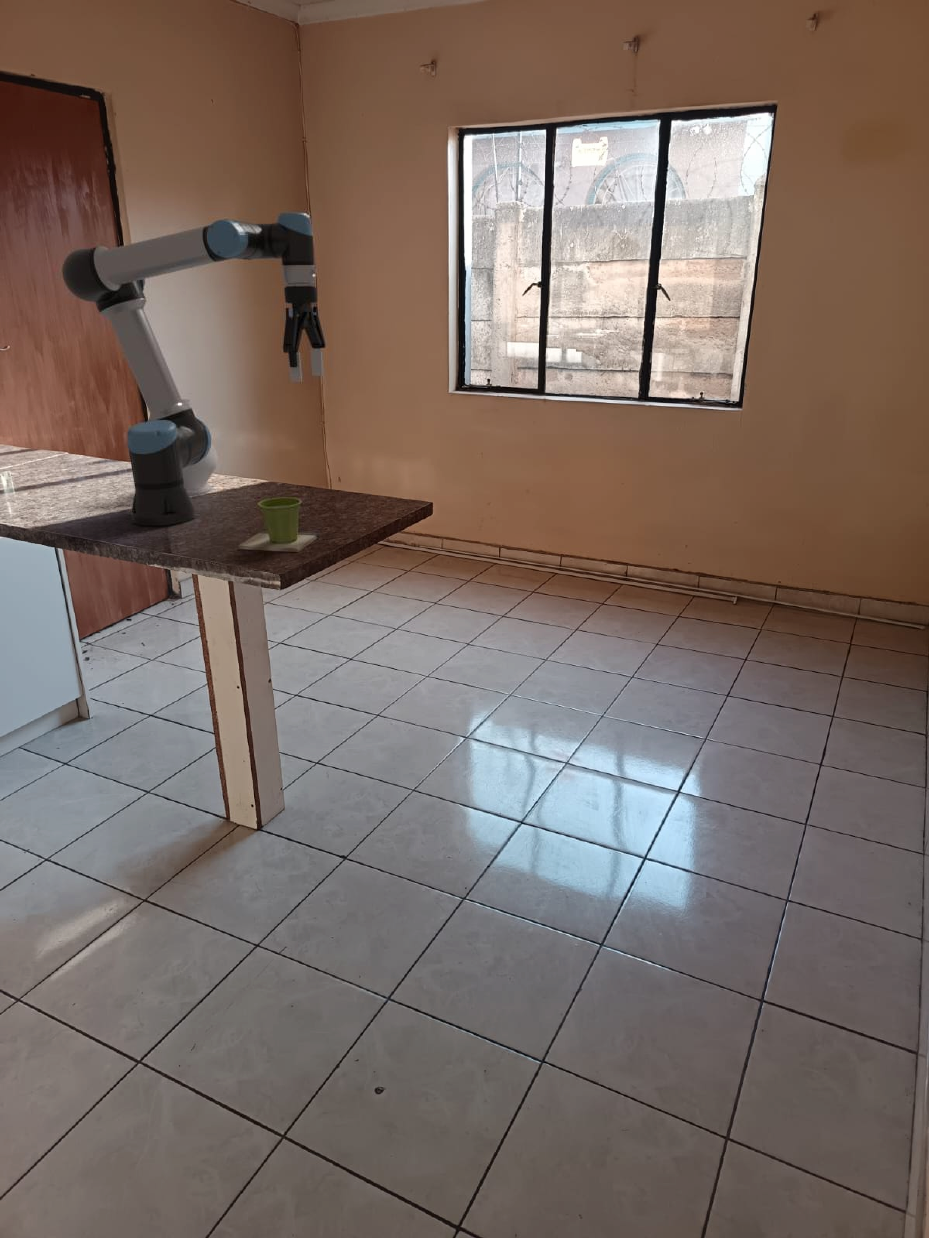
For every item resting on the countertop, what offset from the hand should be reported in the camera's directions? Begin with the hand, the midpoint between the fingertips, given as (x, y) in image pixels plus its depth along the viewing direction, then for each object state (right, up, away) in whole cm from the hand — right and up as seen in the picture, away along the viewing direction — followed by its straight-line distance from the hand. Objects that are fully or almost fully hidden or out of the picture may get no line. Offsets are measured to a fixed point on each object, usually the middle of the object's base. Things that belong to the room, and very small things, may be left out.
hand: (307, 378), depth 211 cm
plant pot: (-2, -41, -17) cm, 45 cm away
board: (-3, -42, -16) cm, 45 cm away
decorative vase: (-40, -22, +35) cm, 58 cm away
